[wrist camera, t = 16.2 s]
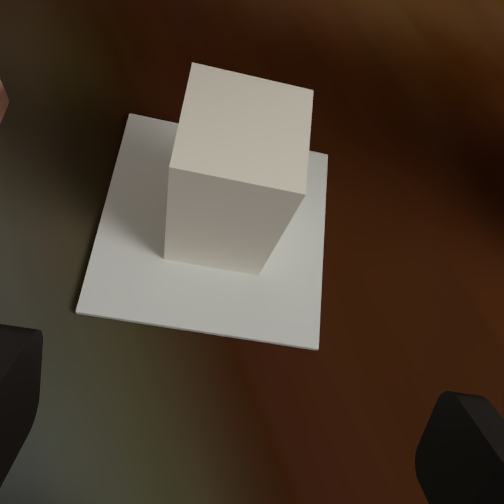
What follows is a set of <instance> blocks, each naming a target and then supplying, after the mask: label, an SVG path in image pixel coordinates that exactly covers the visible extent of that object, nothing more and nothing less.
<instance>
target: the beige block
mask: <svg viewBox="0 0 504 504" xmlns="http://www.w3.org/2000/svg"><path fill="white" fill-rule="evenodd" d="M313 91H314V90H310V89H306V88H301V87H297V86H293V85H288V84H284V83H280V82H275V81H271V80H267V79H262V78H258V77H254V76H249V75H245V74H241V73H236V72H232V71H228V70H223V69H219V68H215V67H210V66H206V65H202V64H197V63H193V62H192V66H191V71H190V75H189V80H188V84H187V89H186V93H185V98H184V102H183V107H182V111H181V116H180V120H179V125H178V129H177V134H176V138H175V143H174V147H173V152H172V156H171V161H170V165H169V178H168V195H167V213H166V230H165V247H164V259H165V260H170V261H176V262H182V263H187V264H193V265H199V266H204V267H210V268H215V269H221V270H227V271H232V272H238V273H244V274H249V275H255V276H259V274H260V272H261V271H262V269H263V267H264V265H265V264H266V262H267V260H268V259H269V257H270V255H271V253H272V252H273V250H274V248H275V247H276V245H277V243H278V241H279V240H280V238H281V236H282V234H283V233H284V231H285V229H286V228H287V226H288V224H289V222H290V221H291V219H292V217H293V216H294V214H295V212H296V210H297V209H298V207H299V205H300V204H301V202H302V200H303V198H304V197H305V195H306V184H307V171H308V158H309V144H310V131H311V118H312V104H313Z"/></svg>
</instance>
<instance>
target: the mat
mask: <svg viewBox="0 0 504 504" xmlns="http://www.w3.org/2000/svg"><path fill="white" fill-rule="evenodd" d="M178 125H179V124H178V123H174V122H169V121H164V120H159V119H155V118H150V117H145V116H140V115H135V114H131V113H129V117H128V120H127V124H126V128H125V131H124V135H123V139H122V142H121V146H120V150H119V153H118V157H117V161H116V165H115V168H114V172H113V176H112V179H111V183H110V187H109V190H108V194H107V198H106V201H105V205H104V209H103V212H102V216H101V220H100V224H99V227H98V231H97V235H96V238H95V242H94V246H93V249H92V253H91V257H90V260H89V264H88V268H87V271H86V275H85V279H84V282H83V286H82V290H81V294H80V297H79V301H78V305H77V308H76V314H81V315H88V316H94V317H101V318H107V319H114V320H120V321H127V322H133V323H140V324H147V325H153V326H160V327H166V328H173V329H179V330H186V331H192V332H199V333H205V334H212V335H219V336H225V337H232V338H238V339H245V340H251V341H258V342H264V343H271V344H277V345H284V346H291V347H297V348H304V349H310V350H318V349H319V329H320V308H321V288H322V267H323V246H324V225H325V204H326V183H327V163H328V155H327V154H322V153H317V152H312V151H309V158H308V171H307V184H306V195H305V197H304V198H303V200H302V202H301V204H300V205H299V207H298V209H297V210H296V212H295V214H294V216H293V217H292V219H291V221H290V222H289V224H288V226H287V228H286V229H285V231H284V233H283V234H282V236H281V238H280V240H279V241H278V243H277V245H276V247H275V248H274V250H273V252H272V253H271V255H270V257H269V259H268V260H267V262H266V264H265V265H264V267H263V269H262V271H261V272H260V274H259V276H255V275H249V274H244V273H238V272H232V271H227V270H221V269H215V268H210V267H204V266H199V265H193V264H187V263H182V262H176V261H170V260H165V259H164V247H165V230H166V213H167V195H168V178H169V165H170V161H171V156H172V152H173V147H174V143H175V138H176V134H177V129H178Z"/></svg>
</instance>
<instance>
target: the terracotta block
mask: <svg viewBox="0 0 504 504" xmlns="http://www.w3.org/2000/svg"><path fill="white" fill-rule="evenodd" d="M8 104H9V99H8V97H7V94H6V92H5V89H4V87H3V84H2V82H1V79H0V123H1V121H2V118H3V116H4V114H5V111H6V109H7V106H8Z"/></svg>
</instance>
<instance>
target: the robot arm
mask: <svg viewBox="0 0 504 504" xmlns="http://www.w3.org/2000/svg"><path fill="white" fill-rule="evenodd" d="M42 347H43V335H42V332H41V330H37V329H30V328H23V327H17V326H10V325H3V324H0V487H1V485H2V483H3V481H4V479H5V478H6V476H7V474H8V472H9V470H10V468H11V466H12V464H13V462H14V461H15V459H16V457H17V455H18V453H19V451H20V449H21V447H22V445H23V444H24V442H25V440H26V438H27V436H28V434H29V432H30V430H31V428H32V425H33V422H34V419H35V416H36V412H37V408H38V403H39V394H40V378H41V362H42ZM415 469H416V475H417V478H418V481H419V483H420V485H421V487H422V490H423V492H424V494H425V496H426V498H427V500H428V502H429V504H504V420H503V418H502V417H501V416H500V414H499V413H498V412H497V411H496V409H495V408H494V407H493V406H492V404H491V403H490V402H489V401H488V400H487V399H486V398H485V397H483V396H478V395H471V394H464V393H458V392H451V391H446V392H443V393H442V394H441V395H440V396H439V398H438V400H437V402H436V404H435V407H434V409H433V412H432V414H431V416H430V419H429V421H428V423H427V426H426V428H425V430H424V433H423V435H422V437H421V440H420V442H419V445H418V447H417V450H416V455H415Z"/></svg>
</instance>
